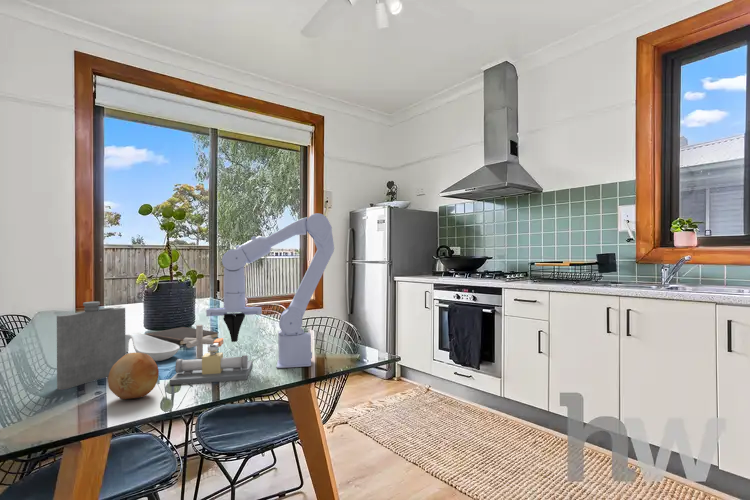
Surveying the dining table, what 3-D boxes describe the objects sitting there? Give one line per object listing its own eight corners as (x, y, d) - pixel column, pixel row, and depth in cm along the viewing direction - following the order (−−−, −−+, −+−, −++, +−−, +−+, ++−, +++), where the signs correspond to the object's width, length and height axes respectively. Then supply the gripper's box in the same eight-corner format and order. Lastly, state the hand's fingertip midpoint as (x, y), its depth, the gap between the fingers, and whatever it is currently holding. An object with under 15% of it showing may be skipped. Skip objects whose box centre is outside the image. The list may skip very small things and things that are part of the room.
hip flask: (61, 390, 95) (61, 306, 95) (52, 388, 97) (51, 305, 97) (128, 372, 109) (127, 298, 109) (119, 370, 111) (118, 298, 111)
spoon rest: (188, 357, 126) (187, 334, 126) (154, 367, 115) (154, 341, 115) (136, 350, 135) (136, 329, 135) (100, 359, 124) (100, 335, 124)
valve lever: (216, 352, 104) (216, 345, 104) (206, 353, 103) (206, 346, 103) (224, 343, 115) (224, 337, 115) (215, 343, 114) (215, 337, 114)
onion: (103, 409, 83) (103, 361, 83) (113, 394, 92) (112, 350, 92) (156, 402, 87) (156, 355, 87) (160, 388, 96) (160, 346, 96)
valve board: (252, 364, 115) (252, 342, 115) (246, 379, 101) (246, 354, 101) (185, 368, 112) (185, 346, 112) (169, 384, 98) (169, 359, 98)
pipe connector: (204, 362, 118) (203, 328, 118) (174, 361, 120) (174, 327, 120) (223, 354, 128) (223, 322, 128) (195, 352, 130) (195, 322, 130)
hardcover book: (183, 332, 167) (183, 326, 167) (218, 338, 155) (218, 332, 155) (144, 339, 153) (144, 333, 153) (179, 346, 141) (179, 340, 141)
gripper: (262, 290, 118) (262, 336, 118) (210, 291, 115) (210, 339, 115) (260, 292, 111) (260, 342, 111) (204, 294, 108) (204, 344, 108)
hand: (234, 341), depth 112 cm, fingers closed
